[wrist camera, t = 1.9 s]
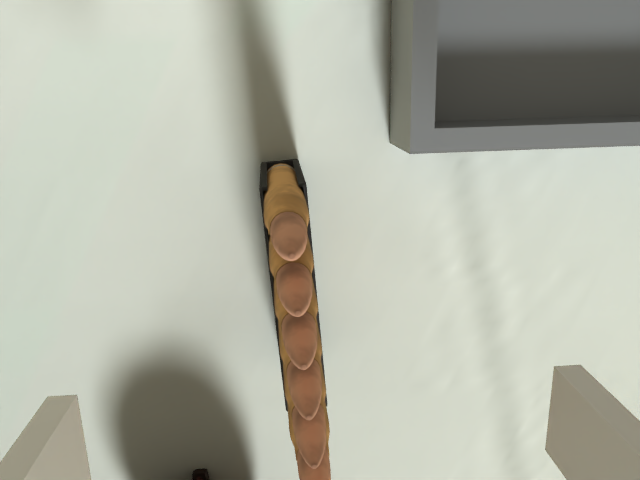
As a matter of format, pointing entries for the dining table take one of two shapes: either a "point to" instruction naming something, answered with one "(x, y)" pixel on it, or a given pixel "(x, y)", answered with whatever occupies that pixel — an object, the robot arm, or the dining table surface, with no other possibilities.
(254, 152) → the dining table surface
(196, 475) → the mate gourd
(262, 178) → the ammunition clip
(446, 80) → the tray
